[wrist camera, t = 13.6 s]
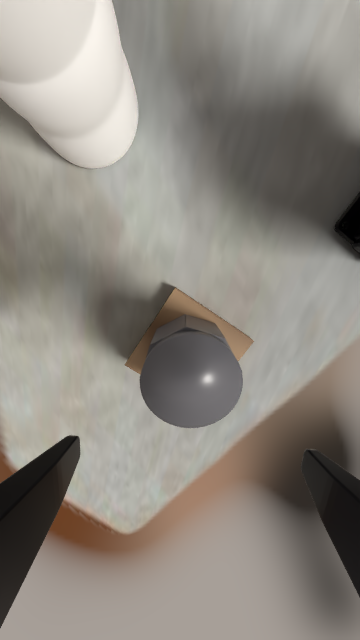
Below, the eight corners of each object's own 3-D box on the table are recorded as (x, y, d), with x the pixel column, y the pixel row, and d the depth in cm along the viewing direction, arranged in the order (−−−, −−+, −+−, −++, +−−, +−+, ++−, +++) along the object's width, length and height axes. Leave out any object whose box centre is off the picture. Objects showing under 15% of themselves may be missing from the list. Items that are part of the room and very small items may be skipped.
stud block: (175, 287, 18) (173, 292, 13) (249, 336, 19) (271, 358, 14) (128, 359, 19) (111, 386, 15) (198, 401, 20) (203, 440, 16)
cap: (143, 375, 18) (129, 413, 13) (163, 307, 17) (155, 321, 12) (211, 394, 19) (222, 438, 14) (236, 329, 17) (258, 352, 12)
